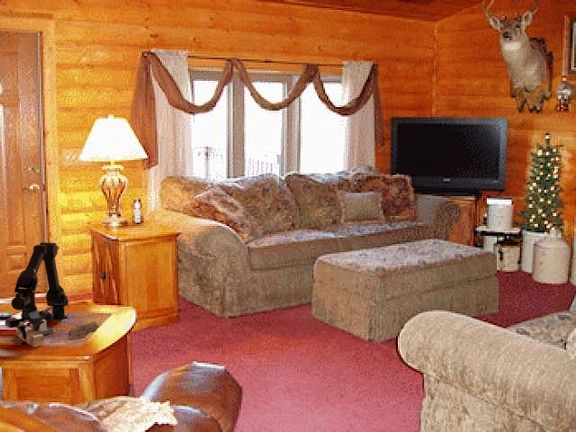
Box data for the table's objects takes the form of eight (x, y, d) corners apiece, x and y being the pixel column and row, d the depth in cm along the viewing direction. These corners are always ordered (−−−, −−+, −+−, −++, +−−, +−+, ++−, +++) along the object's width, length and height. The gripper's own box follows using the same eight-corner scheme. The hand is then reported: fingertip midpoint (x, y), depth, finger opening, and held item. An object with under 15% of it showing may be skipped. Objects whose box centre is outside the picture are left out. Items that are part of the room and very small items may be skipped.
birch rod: (16, 336, 315) (16, 326, 314) (25, 334, 317) (25, 325, 317) (34, 347, 302) (34, 337, 301) (43, 345, 304) (43, 335, 304)
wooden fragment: (80, 341, 311) (80, 339, 310) (57, 339, 313) (57, 336, 313) (107, 323, 335) (107, 321, 335) (86, 321, 338) (86, 319, 338)
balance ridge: (24, 330, 323) (23, 317, 322) (41, 326, 328) (41, 314, 327) (35, 336, 314) (35, 323, 313) (53, 333, 320) (52, 320, 319)
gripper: (14, 311, 295) (16, 348, 297) (57, 303, 307) (58, 338, 310) (3, 305, 303) (5, 341, 305) (46, 298, 315) (47, 332, 318)
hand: (29, 338), depth 309 cm, fingers closed on birch rod, 4 cm apart
